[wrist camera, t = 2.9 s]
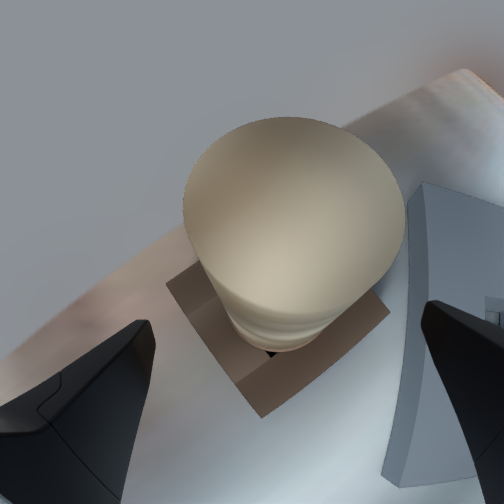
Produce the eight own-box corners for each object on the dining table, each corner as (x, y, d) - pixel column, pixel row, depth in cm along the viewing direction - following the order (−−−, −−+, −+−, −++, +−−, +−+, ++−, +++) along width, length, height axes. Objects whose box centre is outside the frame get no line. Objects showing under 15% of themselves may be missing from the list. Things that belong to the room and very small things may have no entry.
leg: (336, 300, 19) (433, 179, 7) (288, 373, 17) (340, 367, 6) (265, 254, 21) (265, 92, 9) (213, 322, 19) (132, 222, 7)
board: (518, 453, 13) (540, 456, 10) (380, 475, 14) (398, 487, 11) (523, 237, 20) (541, 222, 18) (407, 203, 22) (422, 181, 19)
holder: (373, 322, 18) (390, 312, 16) (261, 412, 17) (261, 418, 14) (287, 222, 21) (290, 199, 19) (178, 297, 20) (165, 283, 17)
